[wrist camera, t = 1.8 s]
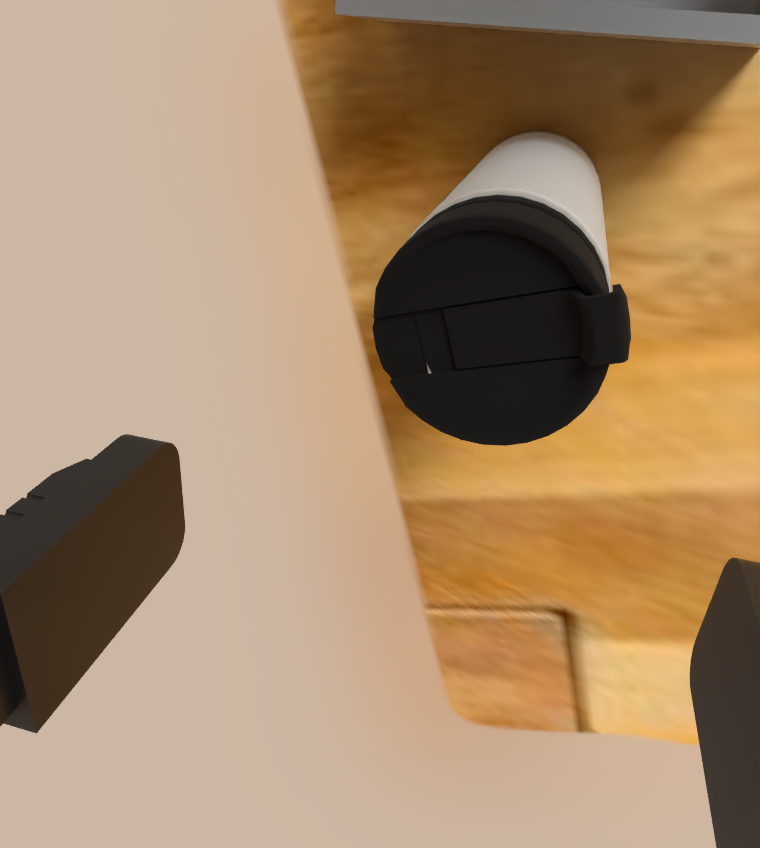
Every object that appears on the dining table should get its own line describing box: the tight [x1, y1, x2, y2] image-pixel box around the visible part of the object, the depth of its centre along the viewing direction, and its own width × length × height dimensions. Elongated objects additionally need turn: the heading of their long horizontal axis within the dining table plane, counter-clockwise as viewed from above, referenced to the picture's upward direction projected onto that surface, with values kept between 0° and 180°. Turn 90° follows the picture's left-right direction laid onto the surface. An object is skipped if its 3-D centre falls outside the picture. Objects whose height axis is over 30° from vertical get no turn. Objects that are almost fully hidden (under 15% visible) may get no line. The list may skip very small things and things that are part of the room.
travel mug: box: [373, 130, 631, 445], centre depth 26 cm, size 6×7×20 cm
